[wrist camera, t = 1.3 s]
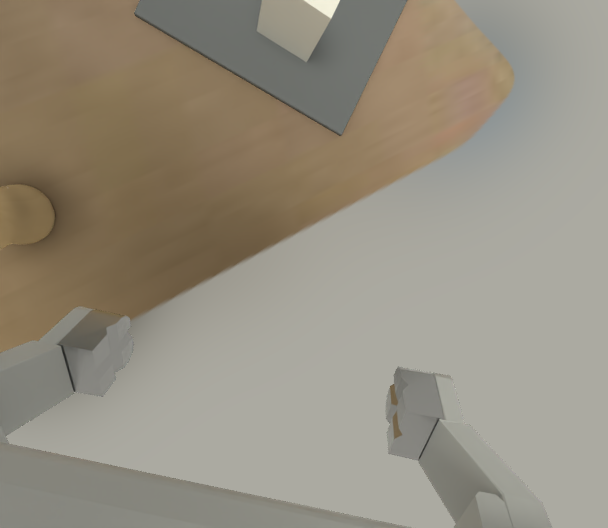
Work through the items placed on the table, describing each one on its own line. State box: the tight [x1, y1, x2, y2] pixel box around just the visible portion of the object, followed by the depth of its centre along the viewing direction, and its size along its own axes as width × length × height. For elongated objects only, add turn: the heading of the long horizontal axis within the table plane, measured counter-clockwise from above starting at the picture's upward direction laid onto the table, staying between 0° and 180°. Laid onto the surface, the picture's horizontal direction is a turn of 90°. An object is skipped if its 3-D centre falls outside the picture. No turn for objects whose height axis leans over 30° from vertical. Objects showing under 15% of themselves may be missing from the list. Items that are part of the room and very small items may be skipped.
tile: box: [257, 0, 340, 62], centre depth 35 cm, size 6×2×10 cm, turn 63°
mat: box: [134, 0, 407, 136], centre depth 40 cm, size 24×18×1 cm
